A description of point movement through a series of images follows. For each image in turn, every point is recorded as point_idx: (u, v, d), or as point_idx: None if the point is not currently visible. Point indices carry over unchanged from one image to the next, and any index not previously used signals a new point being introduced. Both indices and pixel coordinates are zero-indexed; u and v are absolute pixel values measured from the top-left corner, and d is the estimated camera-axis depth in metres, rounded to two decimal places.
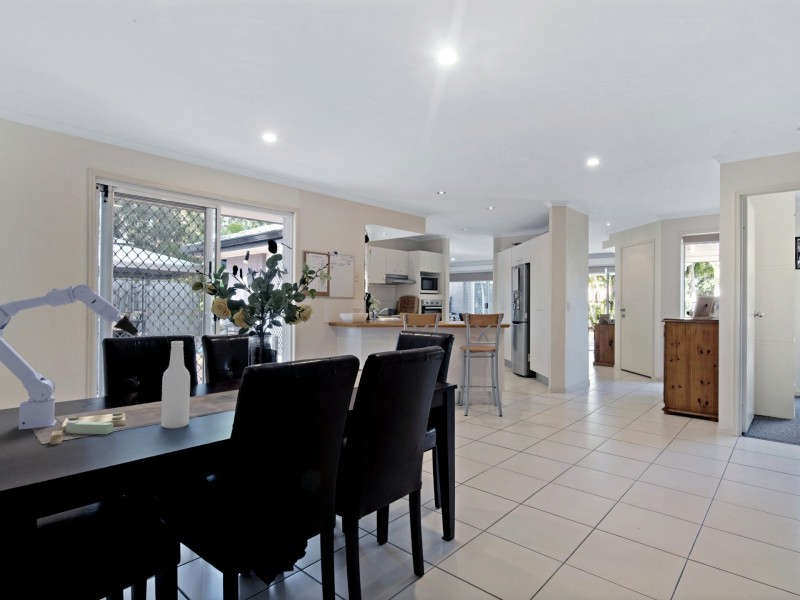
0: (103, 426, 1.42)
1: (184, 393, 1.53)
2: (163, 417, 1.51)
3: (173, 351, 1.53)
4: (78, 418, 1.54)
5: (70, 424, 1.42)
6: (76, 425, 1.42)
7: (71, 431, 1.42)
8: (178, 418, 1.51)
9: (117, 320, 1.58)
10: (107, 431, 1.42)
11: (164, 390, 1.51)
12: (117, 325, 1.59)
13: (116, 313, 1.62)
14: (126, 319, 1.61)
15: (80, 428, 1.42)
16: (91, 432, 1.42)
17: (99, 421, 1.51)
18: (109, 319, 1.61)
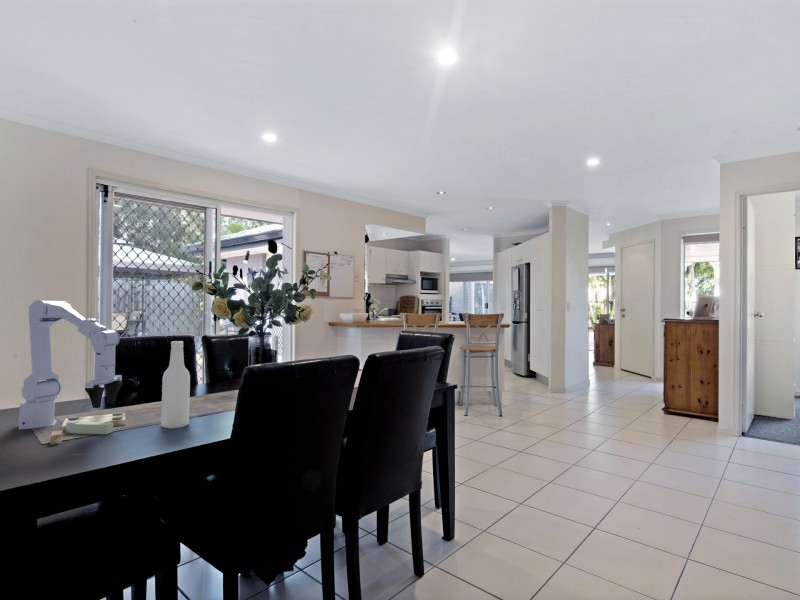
0: (103, 426, 1.42)
1: (184, 393, 1.53)
2: (163, 417, 1.51)
3: (173, 351, 1.53)
4: (78, 418, 1.54)
5: (70, 424, 1.42)
6: (76, 425, 1.42)
7: (71, 431, 1.42)
8: (178, 418, 1.51)
9: (87, 386, 1.40)
10: (107, 431, 1.42)
11: (164, 390, 1.51)
12: (87, 389, 1.42)
13: (103, 378, 1.45)
14: (98, 391, 1.42)
15: (80, 428, 1.42)
16: (91, 432, 1.42)
17: (99, 421, 1.51)
18: (94, 377, 1.45)
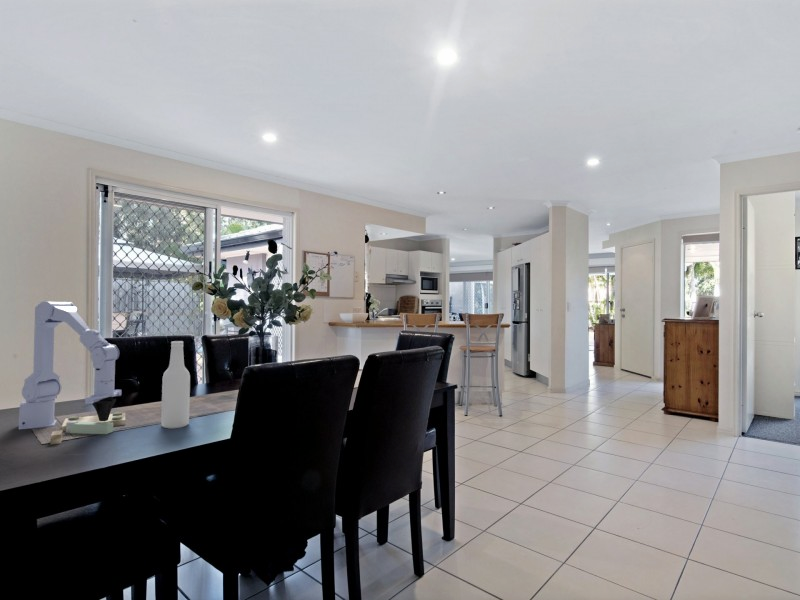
0: (103, 426, 1.42)
1: (184, 393, 1.53)
2: (163, 417, 1.51)
3: (173, 351, 1.53)
4: (78, 418, 1.54)
5: (70, 424, 1.42)
6: (76, 425, 1.42)
7: (71, 431, 1.42)
8: (178, 418, 1.51)
9: (87, 402, 1.40)
10: (107, 431, 1.42)
11: (164, 390, 1.51)
12: (94, 403, 1.45)
13: (102, 393, 1.45)
14: (104, 404, 1.45)
15: (80, 428, 1.42)
16: (91, 432, 1.42)
17: (99, 421, 1.51)
18: (94, 392, 1.45)
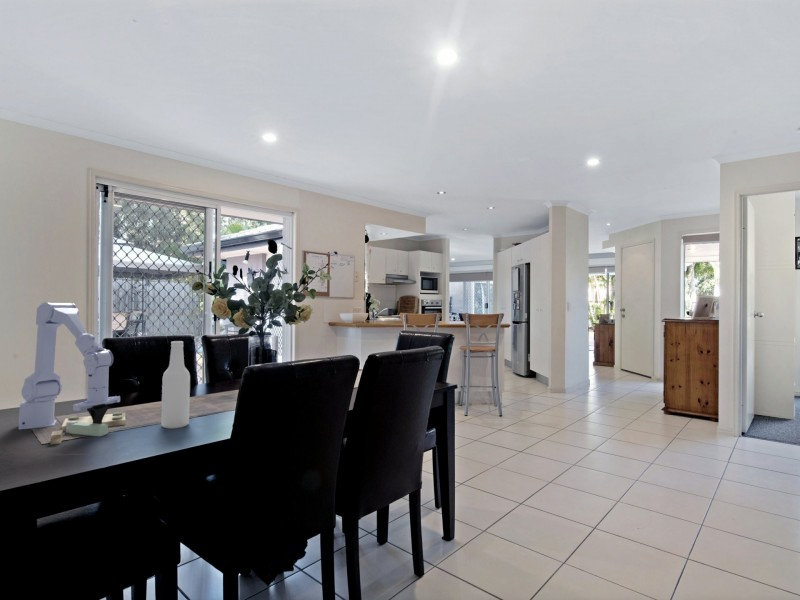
0: (96, 428, 1.40)
1: (184, 393, 1.53)
2: (163, 417, 1.51)
3: (173, 351, 1.53)
4: (78, 418, 1.54)
5: (69, 424, 1.42)
6: (74, 425, 1.42)
7: (70, 431, 1.42)
8: (178, 418, 1.51)
9: (74, 409, 1.37)
10: (100, 433, 1.40)
11: (164, 390, 1.51)
12: (88, 409, 1.43)
13: (93, 400, 1.41)
14: (96, 411, 1.42)
15: (77, 429, 1.42)
16: (86, 433, 1.41)
17: None
18: (87, 399, 1.43)
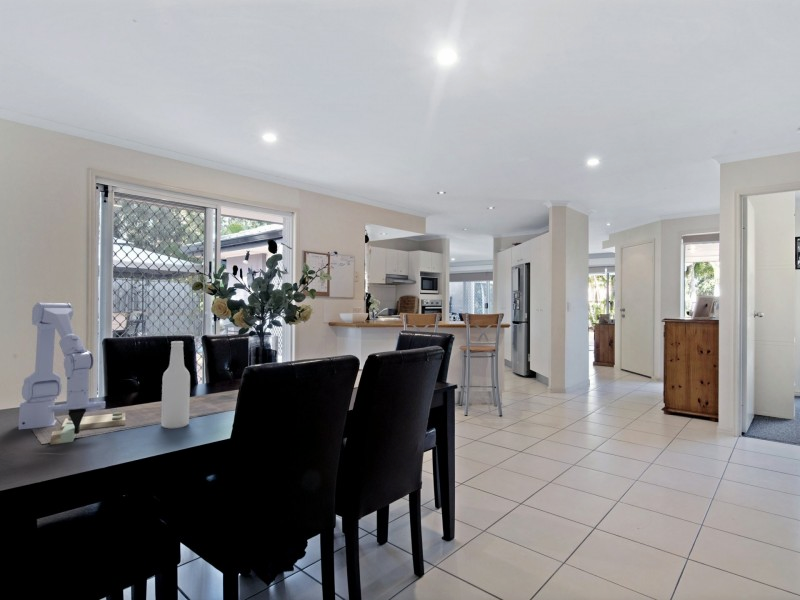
0: (61, 434, 1.33)
1: (184, 393, 1.53)
2: (163, 417, 1.51)
3: (173, 351, 1.53)
4: None
5: (66, 424, 1.43)
6: (65, 426, 1.41)
7: None
8: (178, 418, 1.51)
9: None
10: (61, 440, 1.32)
11: (164, 390, 1.51)
12: None
13: (67, 403, 1.36)
14: None
15: None
16: None
17: (99, 421, 1.51)
18: None
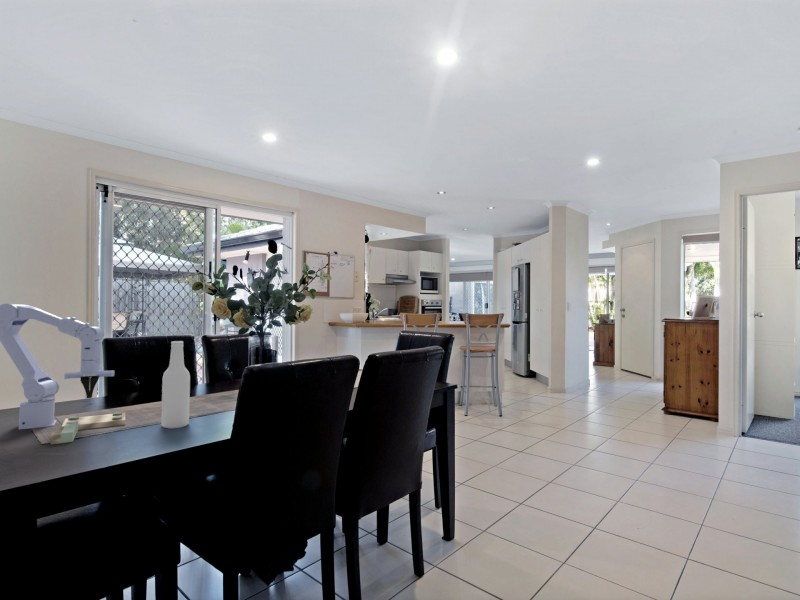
0: (61, 434, 1.33)
1: (184, 393, 1.53)
2: (163, 417, 1.51)
3: (173, 351, 1.53)
4: (78, 418, 1.54)
5: (66, 424, 1.43)
6: (65, 426, 1.41)
7: None
8: (178, 418, 1.51)
9: None
10: (61, 440, 1.32)
11: (164, 390, 1.51)
12: None
13: (81, 371, 1.53)
14: None
15: None
16: None
17: (99, 421, 1.51)
18: None
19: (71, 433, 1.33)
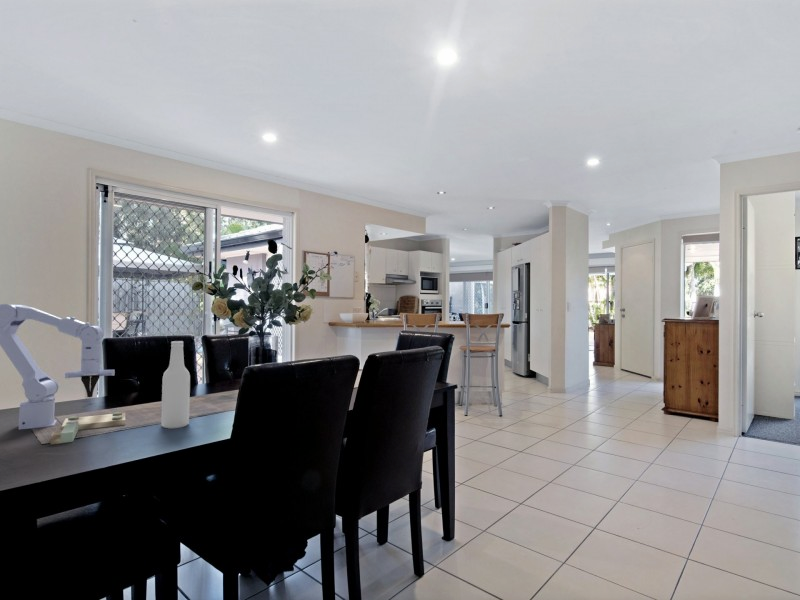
0: (61, 434, 1.33)
1: (184, 393, 1.53)
2: (163, 417, 1.51)
3: (173, 351, 1.53)
4: (78, 418, 1.54)
5: (66, 424, 1.43)
6: (65, 426, 1.41)
7: None
8: (178, 418, 1.51)
9: (65, 376, 1.53)
10: (61, 440, 1.32)
11: (164, 390, 1.51)
12: None
13: (81, 370, 1.54)
14: (82, 381, 1.54)
15: None
16: None
17: (99, 421, 1.51)
18: None
19: (71, 433, 1.33)
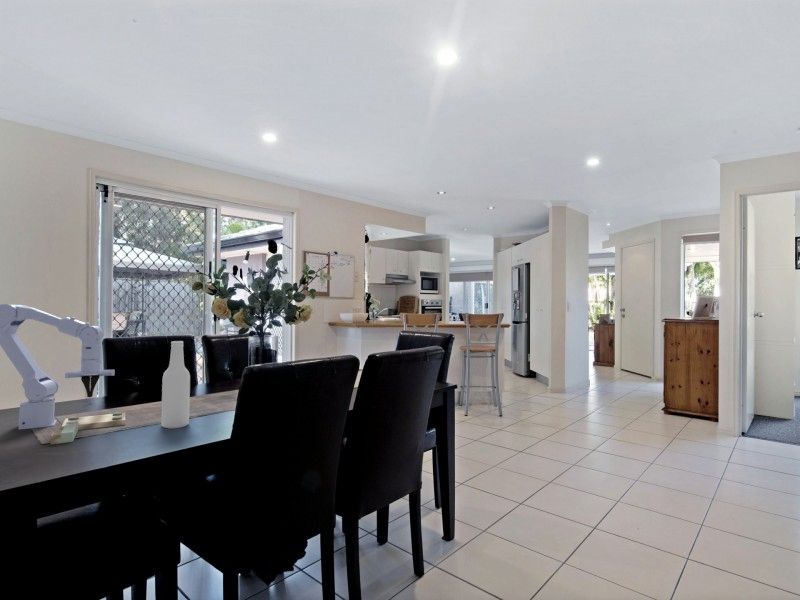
0: (61, 434, 1.33)
1: (184, 393, 1.53)
2: (163, 417, 1.51)
3: (173, 351, 1.53)
4: (78, 418, 1.54)
5: (66, 424, 1.43)
6: (65, 426, 1.41)
7: None
8: (178, 418, 1.51)
9: (65, 376, 1.53)
10: (61, 440, 1.32)
11: (164, 390, 1.51)
12: None
13: (81, 370, 1.54)
14: (82, 381, 1.54)
15: None
16: None
17: (99, 421, 1.51)
18: None
19: (71, 433, 1.33)
